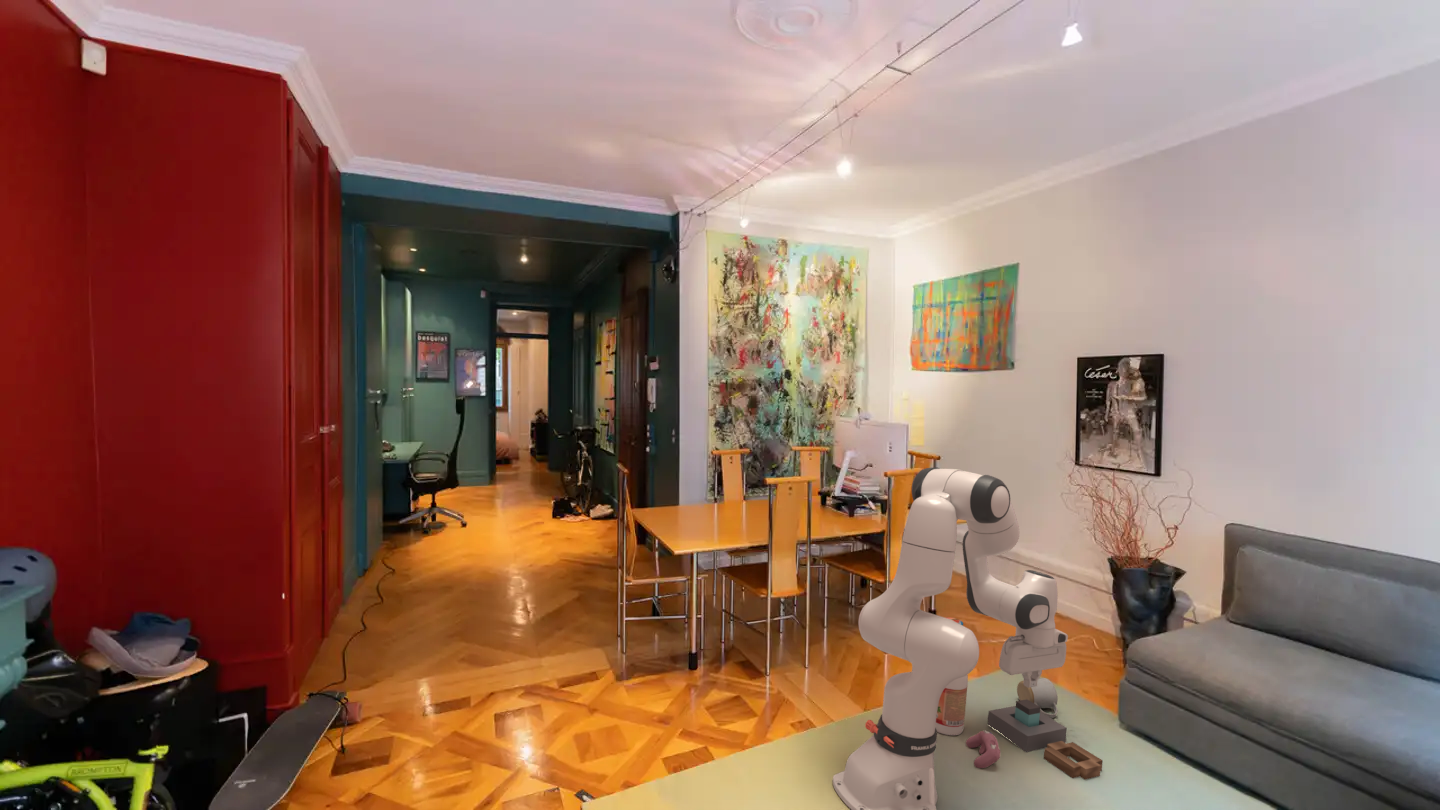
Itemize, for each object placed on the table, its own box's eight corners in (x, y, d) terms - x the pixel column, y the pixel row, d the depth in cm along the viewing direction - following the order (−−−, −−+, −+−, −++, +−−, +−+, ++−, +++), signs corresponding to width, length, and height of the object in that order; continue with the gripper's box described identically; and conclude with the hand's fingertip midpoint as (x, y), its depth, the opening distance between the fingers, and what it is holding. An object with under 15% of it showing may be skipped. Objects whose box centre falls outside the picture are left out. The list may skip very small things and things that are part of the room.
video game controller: (990, 778, 137) (1007, 754, 136) (972, 766, 138) (989, 742, 137) (980, 753, 147) (995, 731, 146) (963, 742, 147) (978, 719, 147)
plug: (1026, 740, 152) (1029, 709, 151) (1013, 731, 155) (1016, 701, 155) (1037, 737, 153) (1040, 707, 153) (1024, 729, 157) (1027, 699, 157)
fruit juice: (961, 741, 149) (971, 631, 148) (922, 728, 153) (931, 621, 153) (965, 723, 157) (974, 619, 156) (928, 712, 162) (937, 611, 161)
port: (1026, 752, 146) (1027, 735, 146) (987, 725, 157) (988, 709, 157) (1065, 743, 151) (1067, 726, 151) (1025, 718, 163) (1026, 702, 162)
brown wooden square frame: (1077, 781, 136) (1078, 771, 136) (1039, 755, 145) (1040, 745, 145) (1106, 773, 140) (1107, 763, 140) (1067, 749, 149) (1068, 739, 149)
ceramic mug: (1013, 699, 173) (1016, 673, 172) (1038, 698, 174) (1040, 673, 174) (1039, 720, 162) (1042, 692, 162) (1065, 719, 164) (1068, 692, 164)
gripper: (1016, 642, 147) (1011, 697, 147) (1072, 635, 155) (1067, 687, 155) (995, 632, 153) (990, 685, 153) (1050, 625, 161) (1046, 675, 161)
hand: (1030, 686), depth 154 cm, fingers closed
